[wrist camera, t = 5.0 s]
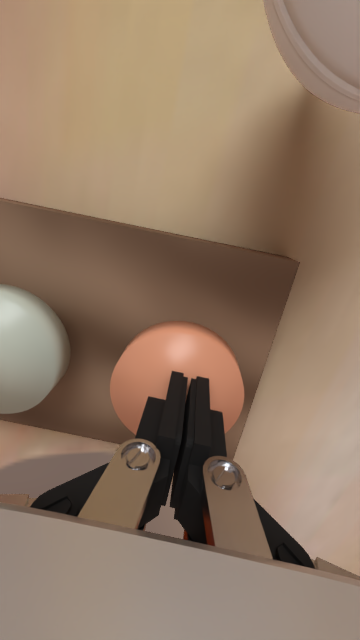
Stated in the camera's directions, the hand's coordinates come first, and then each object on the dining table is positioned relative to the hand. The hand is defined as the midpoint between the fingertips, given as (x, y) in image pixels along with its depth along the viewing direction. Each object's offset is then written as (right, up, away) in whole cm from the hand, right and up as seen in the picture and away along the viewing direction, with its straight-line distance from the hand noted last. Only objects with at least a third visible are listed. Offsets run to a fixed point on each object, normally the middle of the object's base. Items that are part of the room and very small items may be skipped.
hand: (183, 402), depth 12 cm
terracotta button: (0, +1, +2) cm, 2 cm away
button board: (-8, +4, +5) cm, 10 cm away
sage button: (-9, +2, +2) cm, 9 cm away
